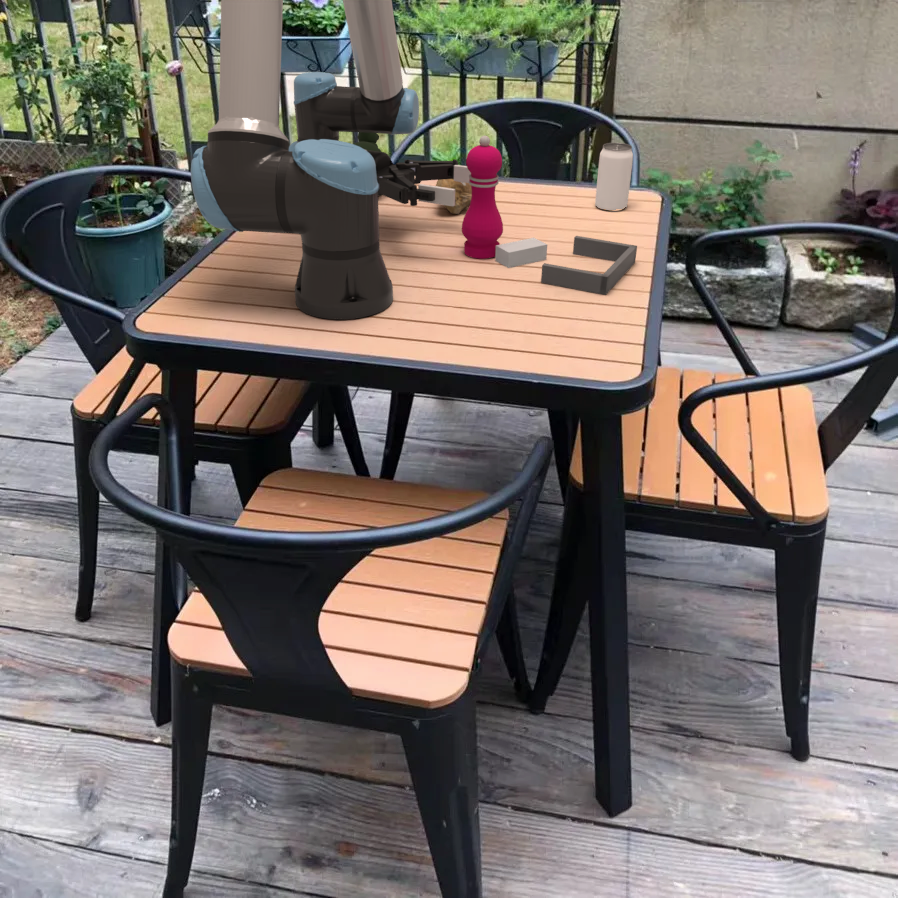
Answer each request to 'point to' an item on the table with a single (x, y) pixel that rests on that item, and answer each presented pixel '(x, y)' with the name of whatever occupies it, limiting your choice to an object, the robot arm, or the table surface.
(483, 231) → the pepper mill
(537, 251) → the white block
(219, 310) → the table surface
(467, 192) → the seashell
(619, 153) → the can
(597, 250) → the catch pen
